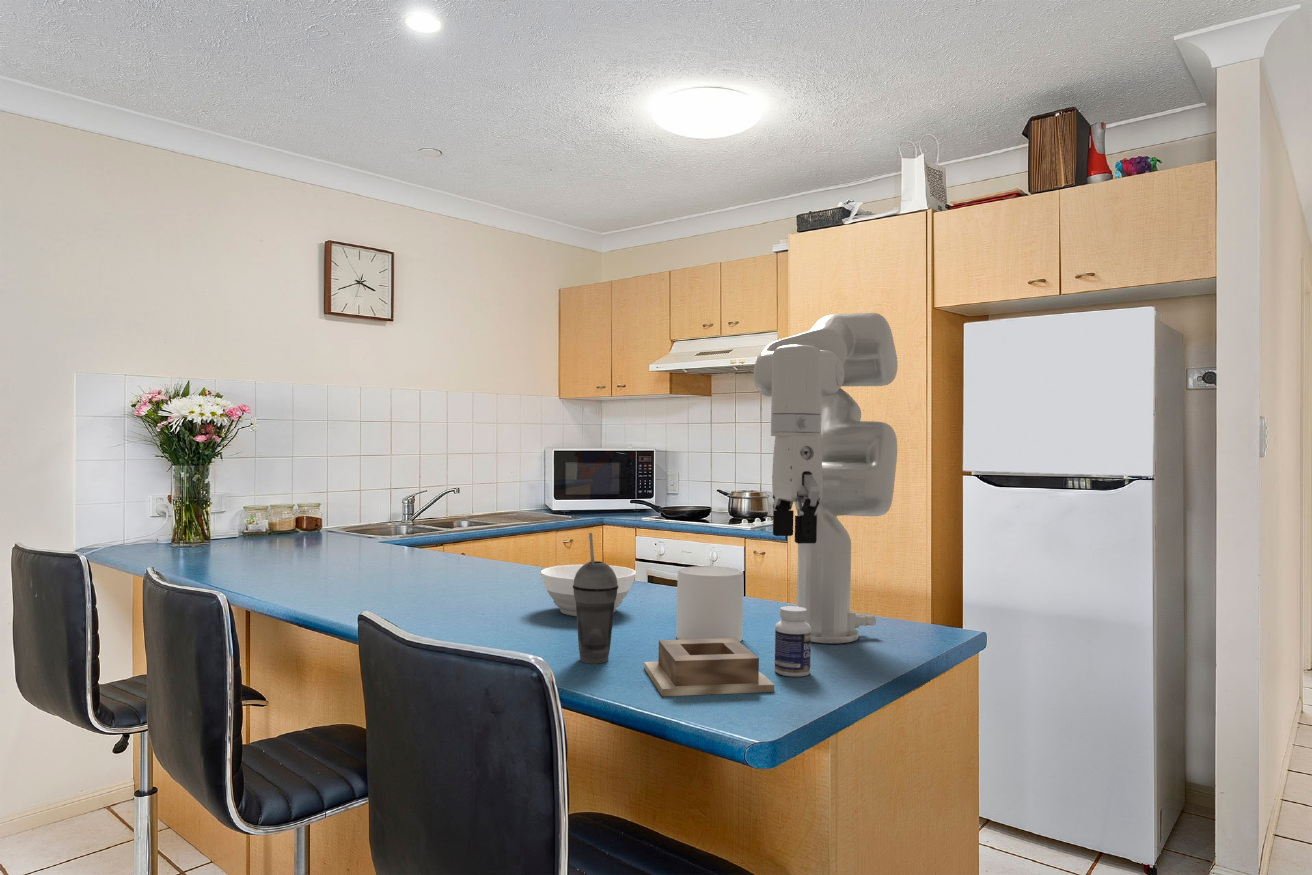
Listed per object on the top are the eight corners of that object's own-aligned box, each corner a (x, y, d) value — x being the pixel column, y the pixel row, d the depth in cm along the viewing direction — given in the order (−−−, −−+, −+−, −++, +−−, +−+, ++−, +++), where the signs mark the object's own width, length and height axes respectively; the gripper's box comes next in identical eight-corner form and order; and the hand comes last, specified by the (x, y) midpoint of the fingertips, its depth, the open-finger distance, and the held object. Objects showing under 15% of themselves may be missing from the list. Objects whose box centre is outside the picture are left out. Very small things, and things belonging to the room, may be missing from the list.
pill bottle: (810, 678, 122) (811, 612, 122) (773, 676, 123) (774, 610, 123) (810, 669, 127) (811, 605, 127) (775, 666, 128) (776, 604, 128)
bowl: (633, 623, 157) (634, 580, 157) (532, 621, 157) (533, 578, 158) (637, 603, 177) (638, 565, 177) (547, 601, 177) (547, 563, 177)
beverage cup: (599, 668, 125) (601, 537, 125) (561, 660, 129) (564, 533, 129) (626, 658, 131) (628, 533, 131) (589, 651, 135) (591, 529, 135)
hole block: (744, 664, 129) (745, 636, 129) (774, 691, 115) (774, 659, 115) (644, 668, 126) (644, 638, 126) (662, 696, 112) (662, 663, 112)
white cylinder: (685, 647, 139) (686, 576, 139) (670, 631, 151) (671, 566, 151) (751, 645, 142) (752, 575, 142) (731, 629, 153) (732, 565, 153)
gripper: (842, 426, 117) (840, 546, 117) (798, 428, 134) (797, 533, 134) (792, 425, 116) (789, 546, 116) (754, 427, 133) (753, 533, 133)
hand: (793, 539), depth 125 cm, fingers open, 9 cm apart
